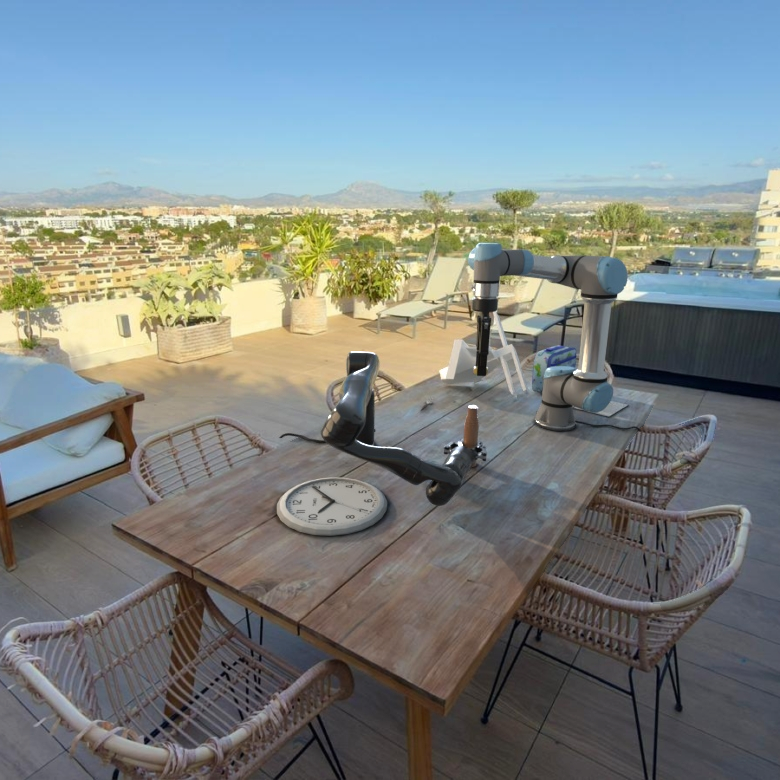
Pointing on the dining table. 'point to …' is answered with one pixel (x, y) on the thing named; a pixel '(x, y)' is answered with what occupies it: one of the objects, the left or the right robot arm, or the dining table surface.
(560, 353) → the lunch box
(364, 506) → the wall clock
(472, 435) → the bottle
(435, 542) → the dining table surface
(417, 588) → the dining table surface
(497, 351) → the white plastic object
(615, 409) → the invitation card
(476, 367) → the cap
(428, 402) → the fork
